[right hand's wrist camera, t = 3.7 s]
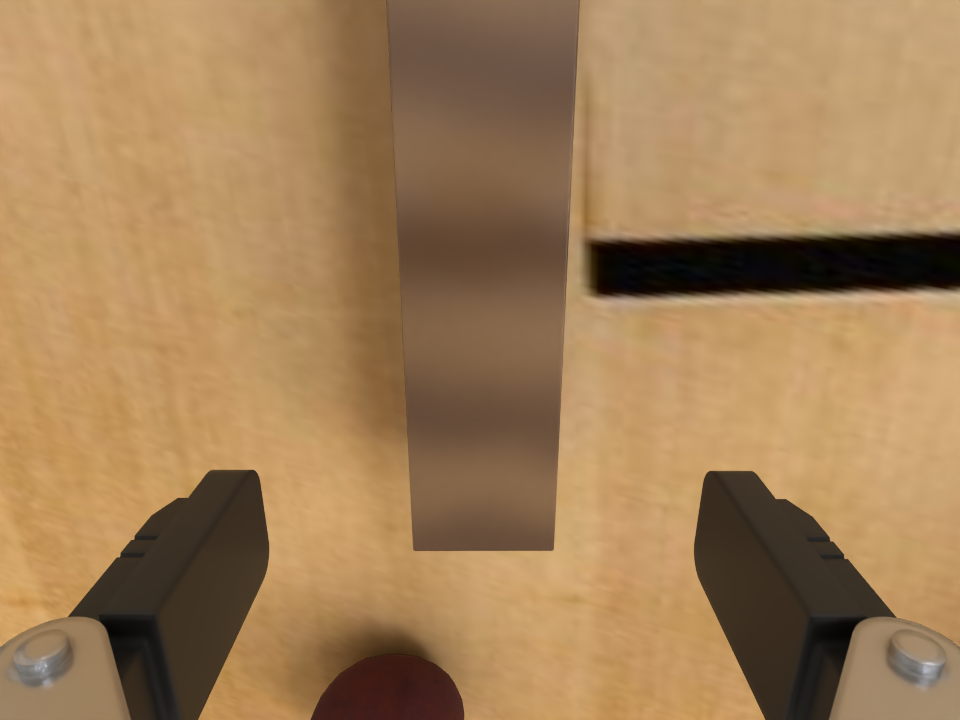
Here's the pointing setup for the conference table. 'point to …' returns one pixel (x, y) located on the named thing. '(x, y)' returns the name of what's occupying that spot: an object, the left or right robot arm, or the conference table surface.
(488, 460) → the post
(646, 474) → the conference table surface
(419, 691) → the potato
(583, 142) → the conference table surface
